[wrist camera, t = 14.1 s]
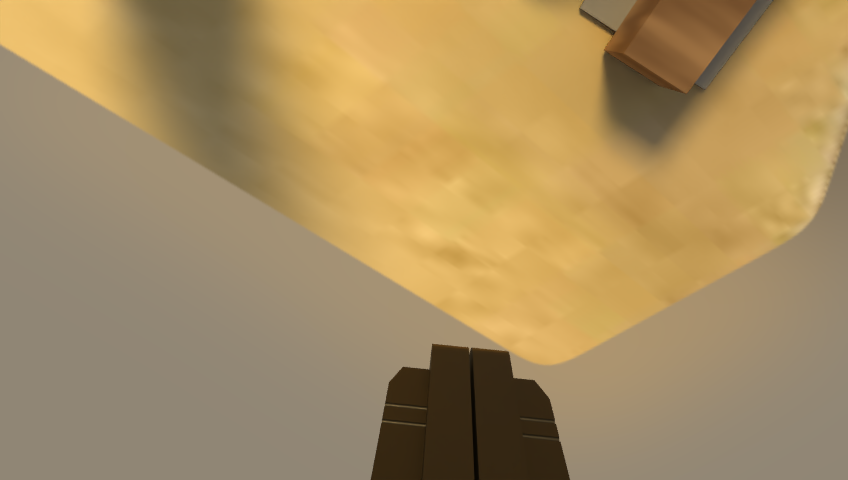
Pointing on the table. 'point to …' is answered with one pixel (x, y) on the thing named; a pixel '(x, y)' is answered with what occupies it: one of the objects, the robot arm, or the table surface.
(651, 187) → the table surface
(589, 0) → the felt pad
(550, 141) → the table surface
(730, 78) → the table surface
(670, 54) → the walnut block
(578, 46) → the table surface
